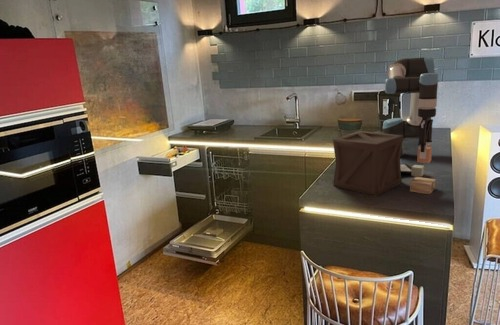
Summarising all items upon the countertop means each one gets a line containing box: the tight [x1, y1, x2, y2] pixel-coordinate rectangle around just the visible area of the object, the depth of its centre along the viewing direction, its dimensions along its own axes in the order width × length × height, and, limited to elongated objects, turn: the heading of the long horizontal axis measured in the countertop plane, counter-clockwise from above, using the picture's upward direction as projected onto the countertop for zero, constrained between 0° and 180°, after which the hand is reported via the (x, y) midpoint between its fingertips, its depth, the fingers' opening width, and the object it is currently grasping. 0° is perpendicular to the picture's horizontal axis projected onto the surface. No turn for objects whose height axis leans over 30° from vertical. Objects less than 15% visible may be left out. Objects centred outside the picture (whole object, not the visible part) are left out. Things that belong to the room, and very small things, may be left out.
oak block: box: [409, 176, 436, 195], centre depth 184 cm, size 9×9×5 cm
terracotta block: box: [416, 145, 433, 164], centre depth 180 cm, size 5×5×7 cm
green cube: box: [410, 164, 425, 178], centre depth 206 cm, size 5×5×5 cm
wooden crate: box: [332, 130, 404, 197], centre depth 194 cm, size 25×25×25 cm
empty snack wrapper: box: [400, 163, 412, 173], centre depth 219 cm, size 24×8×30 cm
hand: (424, 157), depth 180 cm, fingers closed on terracotta block, 5 cm apart
